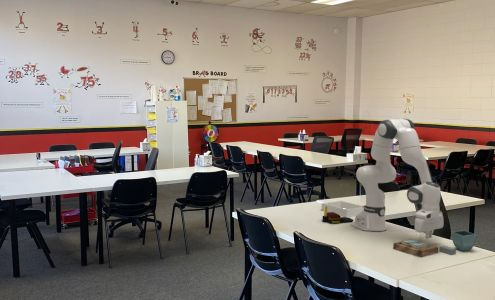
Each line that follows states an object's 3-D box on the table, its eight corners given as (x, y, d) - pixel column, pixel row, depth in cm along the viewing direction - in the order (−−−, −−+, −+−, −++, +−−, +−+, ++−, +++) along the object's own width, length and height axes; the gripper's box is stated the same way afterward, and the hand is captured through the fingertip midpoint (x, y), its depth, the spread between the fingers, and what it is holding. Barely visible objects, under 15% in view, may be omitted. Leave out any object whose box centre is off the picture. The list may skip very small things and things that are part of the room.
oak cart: (401, 249, 255) (401, 241, 254) (411, 247, 259) (412, 239, 258) (416, 254, 246) (416, 245, 246) (427, 252, 250) (427, 243, 249)
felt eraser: (439, 252, 251) (439, 246, 250) (443, 250, 253) (443, 245, 253) (451, 255, 245) (451, 249, 245) (455, 254, 247) (456, 248, 247)
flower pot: (461, 252, 249) (462, 235, 248) (450, 247, 258) (451, 231, 257) (476, 251, 252) (476, 234, 251) (464, 246, 260) (465, 230, 259)
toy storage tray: (321, 211, 344) (321, 203, 343) (341, 208, 354) (341, 200, 354) (346, 218, 323) (346, 209, 322) (366, 215, 333) (366, 206, 333)
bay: (393, 248, 255) (393, 243, 255) (411, 244, 263) (411, 239, 263) (420, 257, 241) (420, 251, 241) (438, 252, 249) (438, 247, 249)
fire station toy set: (318, 221, 317) (318, 204, 316) (345, 219, 323) (346, 203, 322) (328, 226, 303) (328, 209, 302) (356, 224, 309) (357, 207, 308)
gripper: (437, 209, 265) (435, 233, 267) (413, 213, 254) (411, 239, 256) (447, 211, 260) (445, 236, 262) (423, 216, 249) (421, 242, 251)
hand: (428, 237), depth 259 cm, fingers closed
